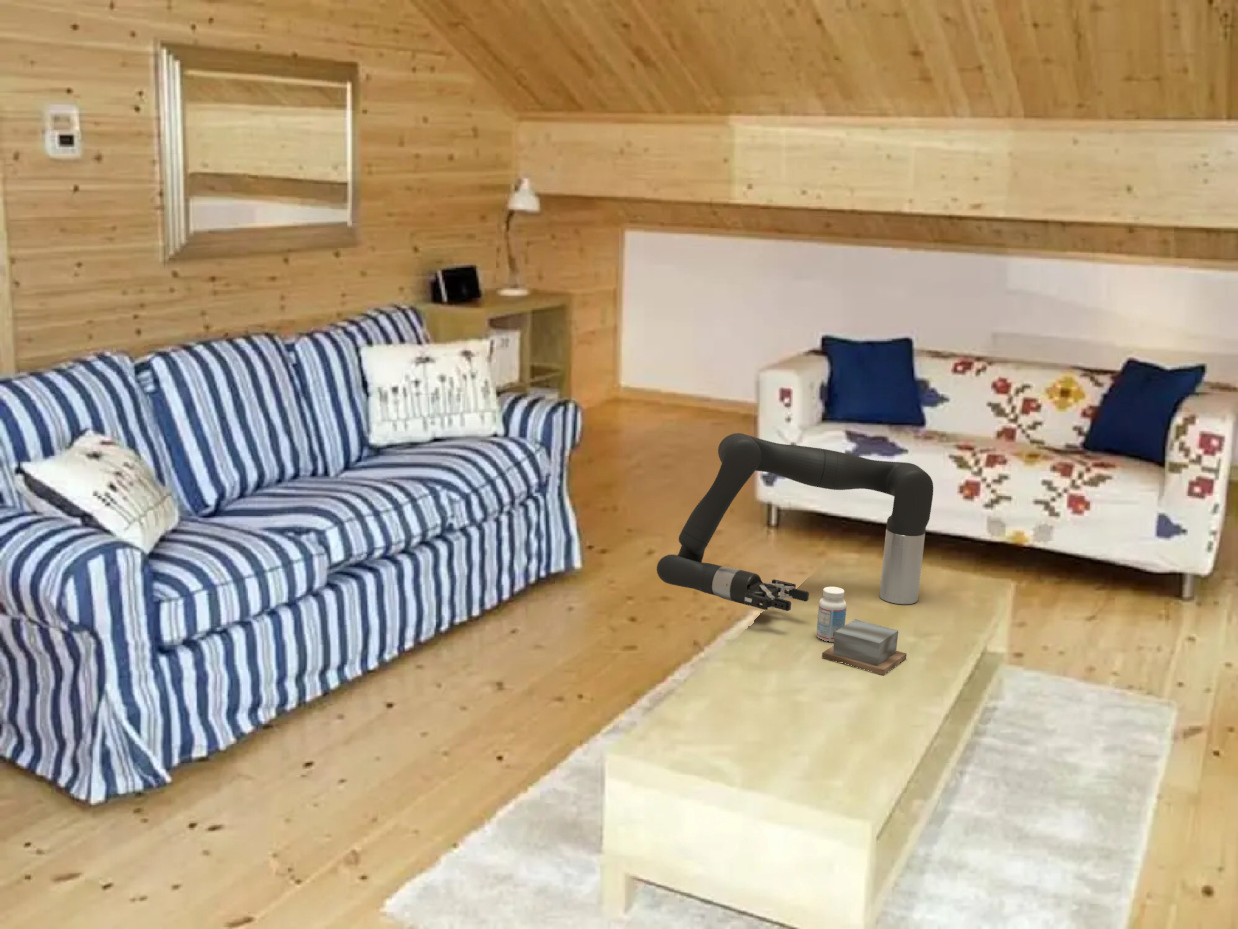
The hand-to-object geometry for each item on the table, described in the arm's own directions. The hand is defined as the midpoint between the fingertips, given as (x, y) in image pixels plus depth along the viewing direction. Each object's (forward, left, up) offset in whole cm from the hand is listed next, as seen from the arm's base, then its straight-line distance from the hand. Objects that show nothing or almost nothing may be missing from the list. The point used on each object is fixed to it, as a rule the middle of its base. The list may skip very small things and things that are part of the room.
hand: (799, 601), depth 284 cm
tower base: (+6, +19, -6) cm, 21 cm away
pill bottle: (0, +8, -7) cm, 11 cm away
